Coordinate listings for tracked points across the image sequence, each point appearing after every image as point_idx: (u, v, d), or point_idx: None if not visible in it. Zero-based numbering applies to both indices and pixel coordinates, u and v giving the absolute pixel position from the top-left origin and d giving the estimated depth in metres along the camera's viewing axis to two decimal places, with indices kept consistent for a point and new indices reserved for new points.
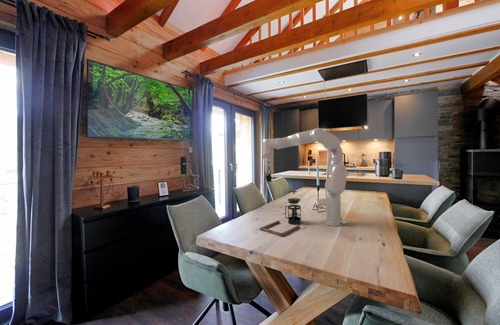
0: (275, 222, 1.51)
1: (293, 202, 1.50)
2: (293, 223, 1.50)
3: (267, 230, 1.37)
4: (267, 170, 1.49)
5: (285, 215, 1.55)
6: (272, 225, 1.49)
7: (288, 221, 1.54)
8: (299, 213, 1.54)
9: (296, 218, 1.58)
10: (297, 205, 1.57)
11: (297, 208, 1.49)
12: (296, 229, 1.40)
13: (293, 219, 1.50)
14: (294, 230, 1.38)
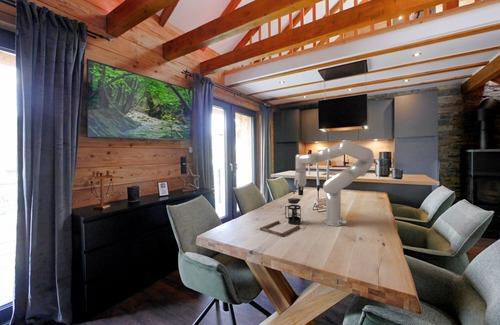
0: (275, 222, 1.51)
1: (293, 202, 1.50)
2: (293, 223, 1.50)
3: (267, 230, 1.37)
4: None
5: (285, 215, 1.55)
6: (272, 225, 1.49)
7: (288, 221, 1.54)
8: (299, 213, 1.54)
9: (296, 218, 1.58)
10: (297, 205, 1.57)
11: (297, 208, 1.49)
12: (296, 229, 1.40)
13: (293, 219, 1.50)
14: (294, 230, 1.38)
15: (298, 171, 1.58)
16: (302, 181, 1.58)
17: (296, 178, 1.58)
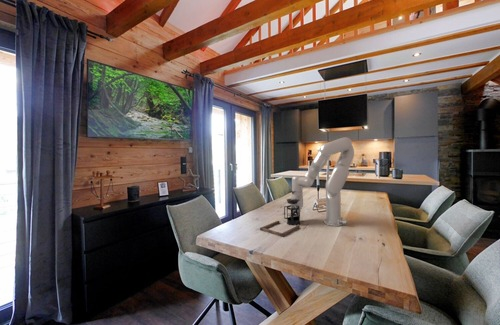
0: (275, 222, 1.51)
1: (292, 202, 1.49)
2: (292, 223, 1.49)
3: (267, 230, 1.37)
4: None
5: (284, 215, 1.55)
6: (272, 225, 1.49)
7: (287, 221, 1.53)
8: None
9: (295, 218, 1.57)
10: None
11: (296, 208, 1.48)
12: (296, 229, 1.40)
13: (292, 219, 1.49)
14: (294, 230, 1.38)
15: (294, 194, 1.55)
16: (299, 204, 1.55)
17: None
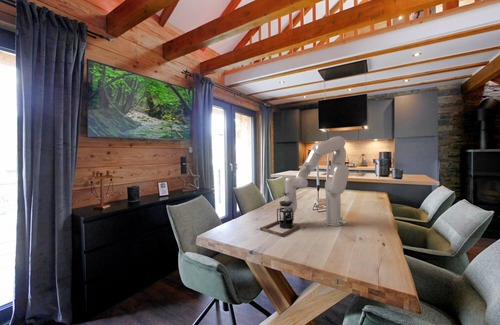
0: (275, 222, 1.51)
1: (284, 205, 1.43)
2: (284, 227, 1.43)
3: (267, 230, 1.37)
4: None
5: (277, 218, 1.48)
6: (272, 225, 1.49)
7: (280, 225, 1.47)
8: (291, 216, 1.47)
9: (288, 221, 1.50)
10: None
11: (289, 211, 1.42)
12: (296, 229, 1.40)
13: (284, 223, 1.43)
14: (294, 230, 1.38)
15: (288, 196, 1.48)
16: (292, 206, 1.49)
17: None
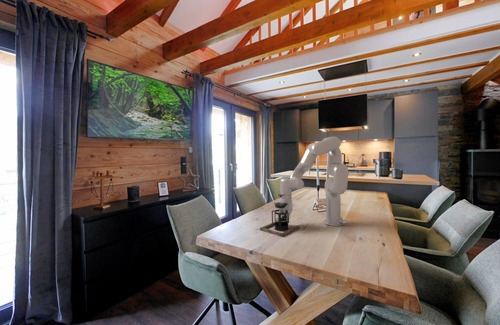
0: None
1: (279, 207, 1.38)
2: (279, 229, 1.39)
3: (267, 230, 1.37)
4: None
5: None
6: (272, 225, 1.49)
7: (275, 227, 1.42)
8: (286, 218, 1.43)
9: (284, 224, 1.46)
10: None
11: (284, 213, 1.38)
12: (296, 229, 1.40)
13: (279, 225, 1.38)
14: (294, 230, 1.38)
15: (283, 197, 1.44)
16: (287, 208, 1.45)
17: None
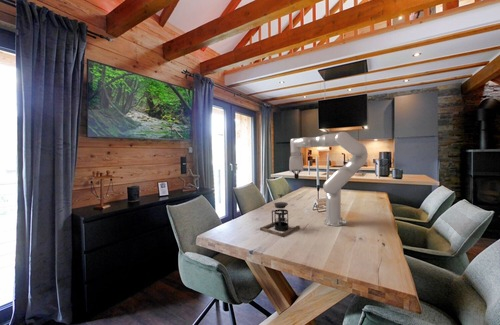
0: None
1: (279, 207, 1.38)
2: (279, 229, 1.39)
3: (267, 230, 1.37)
4: None
5: None
6: (272, 225, 1.49)
7: None
8: (286, 218, 1.43)
9: (284, 224, 1.46)
10: (285, 210, 1.45)
11: (284, 213, 1.38)
12: (296, 229, 1.40)
13: (279, 225, 1.38)
14: (294, 230, 1.38)
15: None
16: (293, 165, 1.60)
17: None
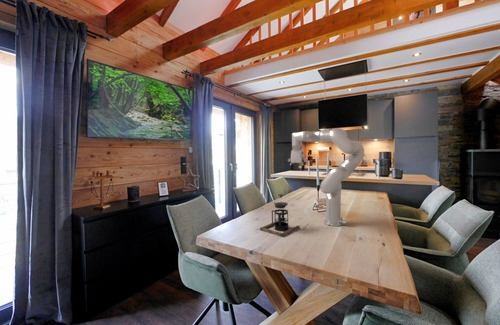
0: None
1: (279, 207, 1.38)
2: (279, 229, 1.39)
3: (267, 230, 1.37)
4: None
5: None
6: (272, 225, 1.49)
7: None
8: (286, 218, 1.43)
9: (284, 224, 1.46)
10: (285, 210, 1.45)
11: (284, 213, 1.38)
12: (296, 229, 1.40)
13: (279, 225, 1.38)
14: (294, 230, 1.38)
15: None
16: (293, 158, 1.67)
17: None
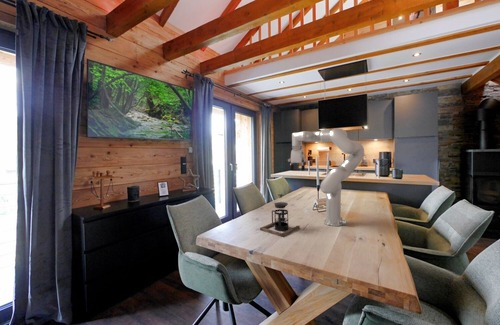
0: None
1: (279, 207, 1.38)
2: (279, 229, 1.39)
3: (267, 230, 1.37)
4: None
5: None
6: (272, 225, 1.49)
7: None
8: (286, 218, 1.43)
9: (284, 224, 1.46)
10: (285, 210, 1.45)
11: (284, 213, 1.38)
12: (296, 229, 1.40)
13: (279, 225, 1.38)
14: (294, 230, 1.38)
15: None
16: (293, 158, 1.67)
17: None
